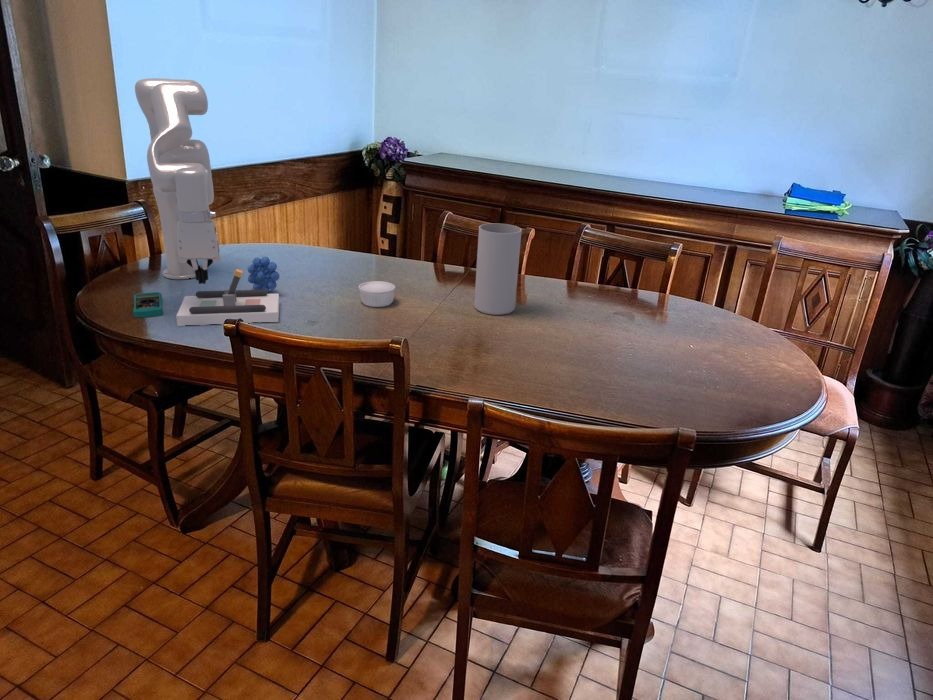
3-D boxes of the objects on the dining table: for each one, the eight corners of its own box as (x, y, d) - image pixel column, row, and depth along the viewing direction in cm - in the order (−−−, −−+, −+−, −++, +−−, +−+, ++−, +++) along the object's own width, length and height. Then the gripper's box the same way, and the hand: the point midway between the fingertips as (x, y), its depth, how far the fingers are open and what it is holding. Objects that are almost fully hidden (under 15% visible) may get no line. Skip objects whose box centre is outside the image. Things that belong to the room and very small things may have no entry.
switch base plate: (186, 305, 188) (183, 284, 186) (279, 302, 195) (278, 282, 192) (177, 326, 174) (174, 303, 172) (278, 322, 180) (276, 300, 178)
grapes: (288, 292, 203) (286, 255, 199) (275, 298, 198) (272, 260, 193) (258, 286, 207) (255, 249, 202) (244, 292, 202) (240, 254, 197)
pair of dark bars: (196, 296, 187) (195, 290, 187) (267, 294, 192) (267, 288, 191) (189, 314, 174) (188, 308, 174) (265, 312, 179) (265, 305, 178)
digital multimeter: (134, 320, 178) (132, 310, 177) (134, 302, 190) (133, 292, 189) (163, 317, 181) (162, 307, 180) (162, 300, 193) (161, 290, 192)
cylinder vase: (468, 311, 196) (473, 229, 186) (481, 299, 207) (486, 221, 197) (507, 318, 193) (514, 235, 183) (519, 305, 204) (526, 226, 193)
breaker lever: (224, 297, 184) (235, 267, 181) (233, 300, 185) (244, 270, 182) (223, 301, 181) (234, 271, 178) (232, 304, 182) (243, 274, 179)
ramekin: (366, 294, 206) (365, 279, 204) (399, 298, 204) (400, 282, 202) (353, 306, 196) (353, 289, 194) (388, 310, 194) (388, 293, 192)
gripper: (225, 213, 177) (232, 277, 184) (166, 213, 173) (175, 278, 181) (223, 219, 170) (230, 286, 178) (161, 219, 167) (171, 287, 174)
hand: (202, 282), depth 179 cm, fingers closed
